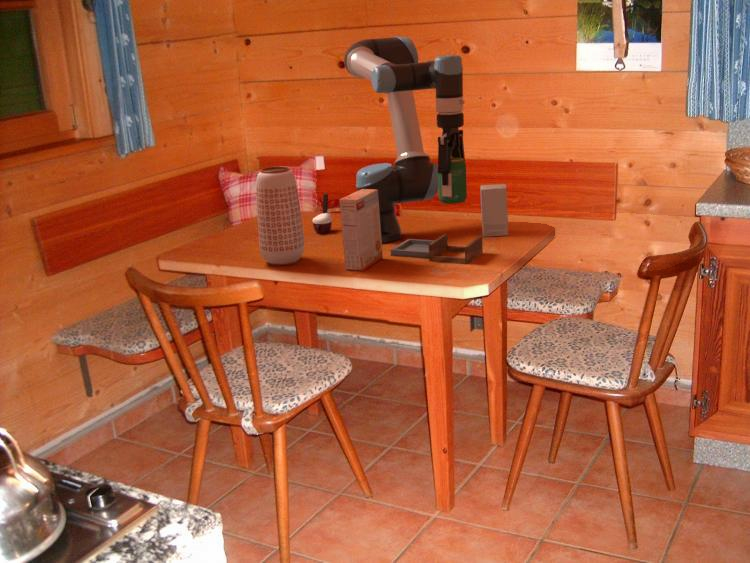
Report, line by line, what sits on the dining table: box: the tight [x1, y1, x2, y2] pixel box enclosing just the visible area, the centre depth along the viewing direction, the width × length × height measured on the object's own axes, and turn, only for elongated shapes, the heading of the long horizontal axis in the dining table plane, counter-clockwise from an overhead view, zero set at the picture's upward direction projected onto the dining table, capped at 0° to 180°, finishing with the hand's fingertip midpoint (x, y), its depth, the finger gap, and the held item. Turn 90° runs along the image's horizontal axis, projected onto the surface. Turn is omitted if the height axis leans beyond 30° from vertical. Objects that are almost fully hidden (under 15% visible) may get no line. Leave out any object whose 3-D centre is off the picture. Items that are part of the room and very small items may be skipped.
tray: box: [390, 238, 435, 259], centre depth 259 cm, size 13×13×2 cm
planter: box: [255, 165, 306, 267], centre depth 253 cm, size 13×13×28 cm
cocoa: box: [312, 193, 333, 235], centre depth 288 cm, size 10×6×12 cm, turn 139°
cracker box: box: [338, 189, 384, 272], centre depth 247 cm, size 14×6×21 cm, turn 154°
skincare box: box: [479, 183, 509, 238], centre depth 271 cm, size 8×7×16 cm
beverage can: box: [438, 157, 468, 205], centre depth 245 cm, size 8×8×12 cm
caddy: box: [428, 233, 484, 265], centre depth 250 cm, size 12×12×5 cm
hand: (452, 192), depth 246 cm, fingers closed on beverage can, 8 cm apart
